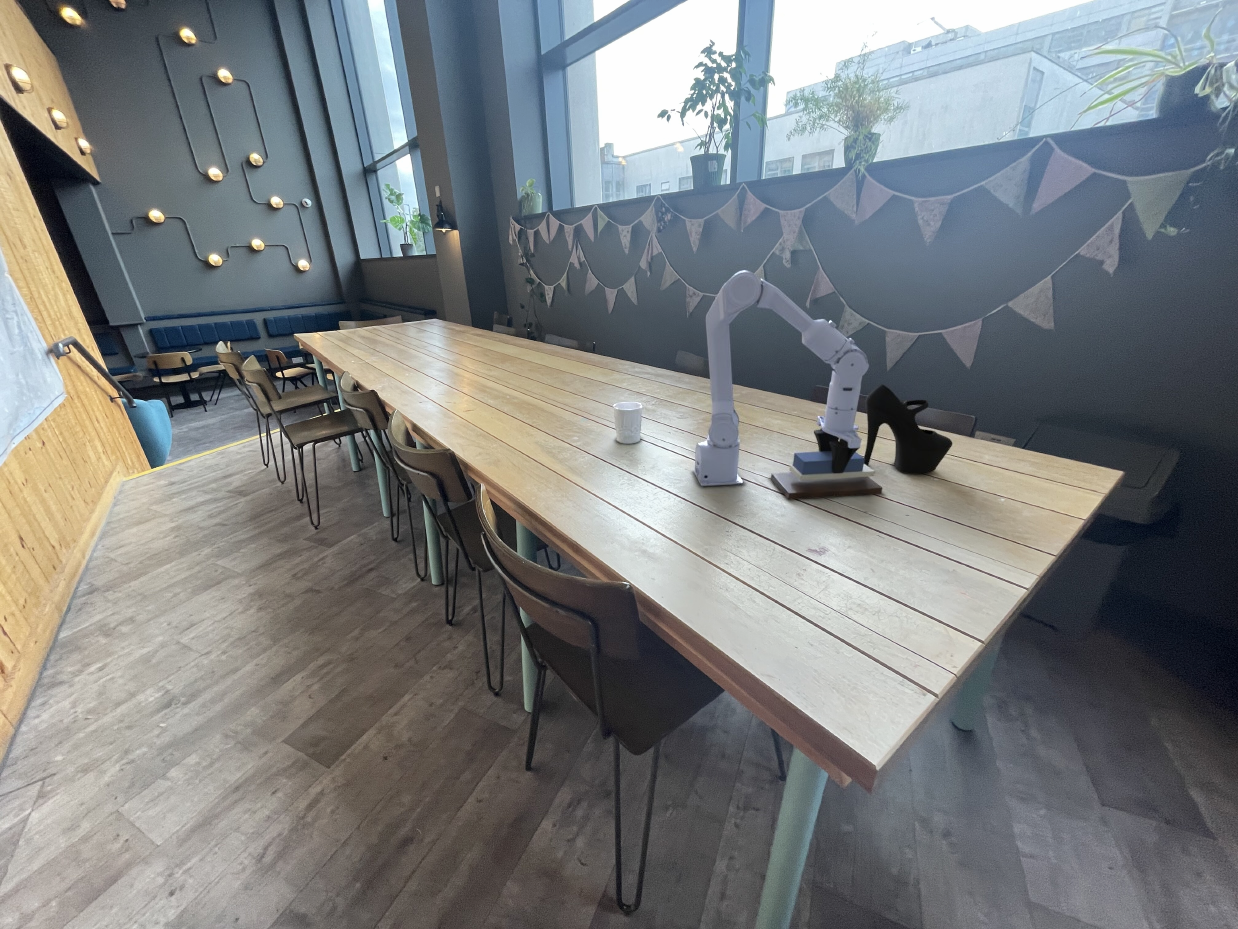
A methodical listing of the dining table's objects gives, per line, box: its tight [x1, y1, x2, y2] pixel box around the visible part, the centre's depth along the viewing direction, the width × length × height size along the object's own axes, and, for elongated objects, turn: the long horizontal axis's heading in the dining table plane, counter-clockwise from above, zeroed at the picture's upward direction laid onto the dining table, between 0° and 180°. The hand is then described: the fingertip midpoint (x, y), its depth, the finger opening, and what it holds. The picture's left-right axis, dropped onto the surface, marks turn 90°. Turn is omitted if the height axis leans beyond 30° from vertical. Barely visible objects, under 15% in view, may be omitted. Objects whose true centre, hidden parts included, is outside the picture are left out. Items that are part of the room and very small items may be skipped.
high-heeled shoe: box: [863, 383, 953, 475], centre depth 106 cm, size 8×19×20 cm, turn 79°
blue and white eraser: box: [789, 451, 875, 481], centre depth 101 cm, size 16×6×4 cm, turn 94°
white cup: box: [612, 401, 643, 445], centre depth 131 cm, size 8×8×10 cm
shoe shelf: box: [770, 471, 883, 500], centre depth 102 cm, size 20×10×2 cm, turn 94°
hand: (831, 467), depth 101 cm, fingers closed on blue and white eraser, 5 cm apart
